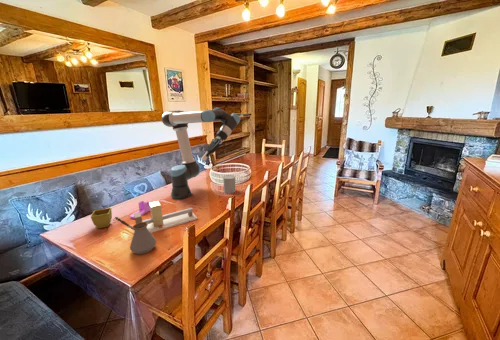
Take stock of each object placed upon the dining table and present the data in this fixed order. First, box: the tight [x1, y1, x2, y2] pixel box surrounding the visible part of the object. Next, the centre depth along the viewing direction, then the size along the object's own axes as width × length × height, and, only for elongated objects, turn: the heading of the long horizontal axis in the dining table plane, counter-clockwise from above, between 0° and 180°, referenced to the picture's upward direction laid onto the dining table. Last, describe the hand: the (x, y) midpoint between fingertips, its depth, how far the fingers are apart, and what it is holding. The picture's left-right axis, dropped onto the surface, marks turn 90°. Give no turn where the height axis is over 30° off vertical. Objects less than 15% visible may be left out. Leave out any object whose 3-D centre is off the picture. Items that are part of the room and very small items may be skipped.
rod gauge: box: [133, 207, 198, 234], centre depth 127 cm, size 11×33×10 cm, turn 123°
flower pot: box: [90, 207, 113, 229], centre depth 126 cm, size 9×9×9 cm
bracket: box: [129, 200, 150, 220], centre depth 140 cm, size 13×6×7 cm, turn 163°
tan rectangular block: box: [149, 200, 164, 227], centre depth 124 cm, size 7×5×12 cm
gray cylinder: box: [222, 174, 237, 194], centre depth 174 cm, size 10×10×12 cm
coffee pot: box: [113, 216, 157, 255], centre depth 105 cm, size 21×12×15 cm, turn 71°
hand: (202, 160), depth 145 cm, fingers closed
